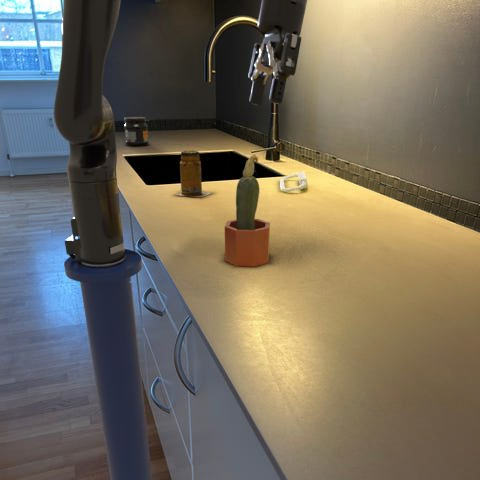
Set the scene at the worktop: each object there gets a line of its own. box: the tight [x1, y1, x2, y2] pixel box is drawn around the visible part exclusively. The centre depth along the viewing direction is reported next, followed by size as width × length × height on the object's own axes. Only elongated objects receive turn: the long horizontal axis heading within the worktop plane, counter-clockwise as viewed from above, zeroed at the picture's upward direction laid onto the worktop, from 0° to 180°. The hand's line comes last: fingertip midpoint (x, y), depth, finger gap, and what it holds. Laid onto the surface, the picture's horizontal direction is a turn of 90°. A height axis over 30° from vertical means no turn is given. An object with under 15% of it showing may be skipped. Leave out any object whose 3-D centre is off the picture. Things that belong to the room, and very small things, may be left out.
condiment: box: [175, 150, 213, 198], centre depth 148 cm, size 7×8×12 cm
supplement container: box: [123, 116, 150, 148], centre depth 235 cm, size 10×10×12 cm
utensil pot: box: [224, 218, 271, 268], centre depth 100 cm, size 8×8×7 cm
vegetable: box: [235, 153, 260, 230], centre depth 97 cm, size 4×4×20 cm
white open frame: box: [279, 170, 309, 193], centre depth 159 cm, size 20×8×4 cm, turn 177°
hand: (264, 103), depth 91 cm, fingers open, 8 cm apart
